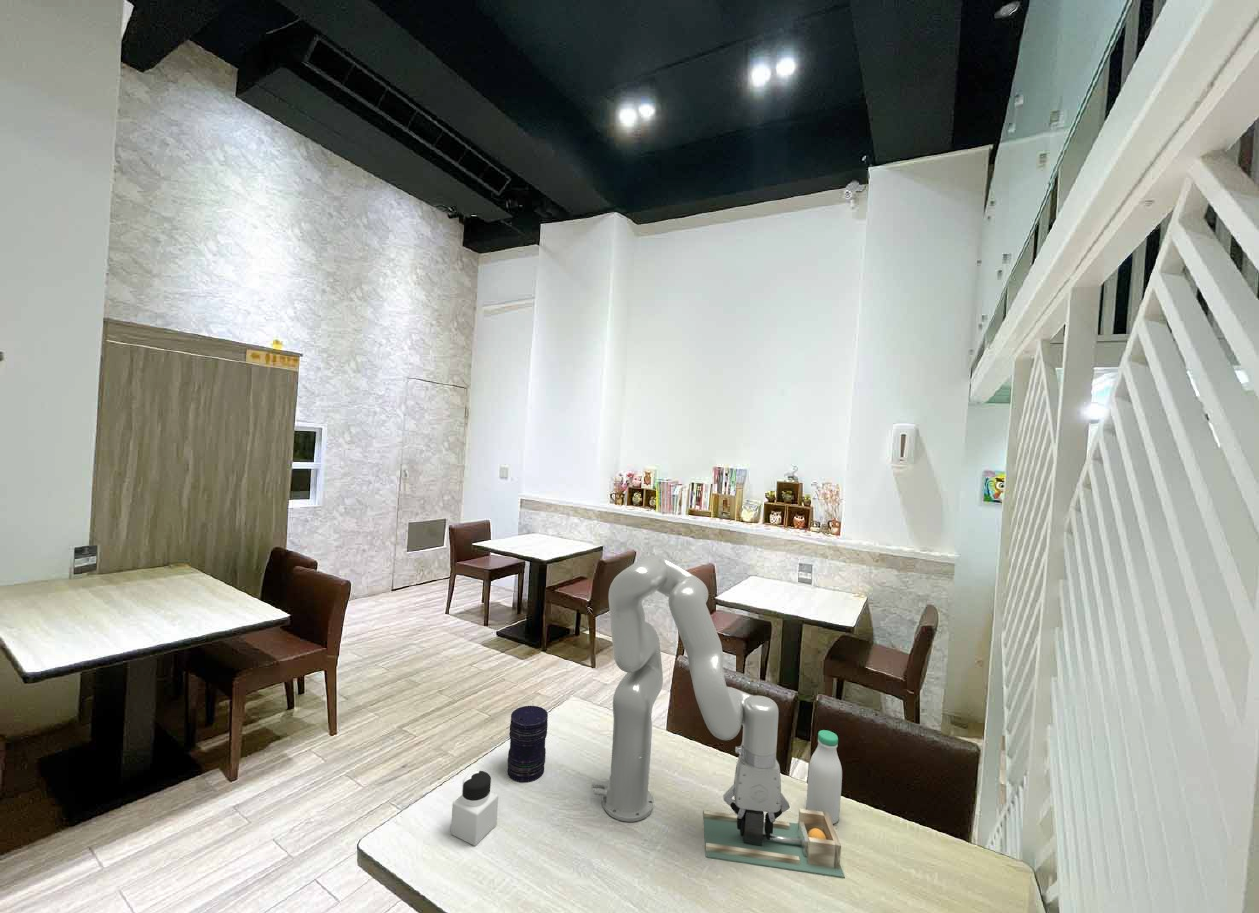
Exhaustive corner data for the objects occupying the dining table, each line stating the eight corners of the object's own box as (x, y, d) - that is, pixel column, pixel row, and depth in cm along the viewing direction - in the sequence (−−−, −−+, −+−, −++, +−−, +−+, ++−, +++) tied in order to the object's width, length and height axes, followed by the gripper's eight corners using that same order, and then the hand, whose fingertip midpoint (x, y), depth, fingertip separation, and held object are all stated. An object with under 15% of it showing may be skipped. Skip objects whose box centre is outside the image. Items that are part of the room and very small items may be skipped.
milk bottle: (842, 828, 120) (848, 746, 120) (808, 821, 122) (814, 740, 122) (835, 806, 128) (841, 728, 128) (803, 800, 129) (809, 723, 129)
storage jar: (527, 754, 141) (530, 701, 140) (552, 769, 135) (556, 714, 135) (498, 771, 133) (502, 715, 132) (524, 788, 127) (528, 729, 127)
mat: (705, 857, 109) (706, 856, 109) (703, 811, 123) (703, 810, 123) (844, 878, 106) (844, 876, 106) (825, 828, 120) (825, 827, 120)
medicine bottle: (497, 825, 114) (500, 773, 114) (475, 847, 108) (478, 791, 107) (472, 813, 117) (475, 762, 117) (449, 834, 111) (453, 780, 110)
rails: (705, 850, 111) (706, 846, 111) (703, 814, 121) (703, 810, 121) (799, 864, 108) (799, 859, 108) (788, 826, 119) (788, 822, 119)
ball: (830, 839, 111) (827, 856, 111) (824, 826, 115) (822, 842, 115) (811, 835, 112) (808, 852, 112) (807, 822, 116) (804, 839, 116)
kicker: (744, 846, 112) (746, 815, 112) (741, 826, 118) (743, 797, 118) (809, 856, 111) (811, 824, 111) (802, 835, 117) (804, 805, 117)
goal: (808, 864, 109) (809, 841, 109) (797, 829, 119) (799, 808, 119) (839, 868, 108) (841, 845, 108) (826, 833, 118) (827, 812, 118)
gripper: (722, 760, 112) (717, 841, 112) (801, 769, 110) (796, 851, 110) (719, 740, 119) (715, 816, 119) (793, 749, 117) (789, 826, 118)
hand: (754, 832), depth 115 cm, fingers closed on kicker, 5 cm apart
